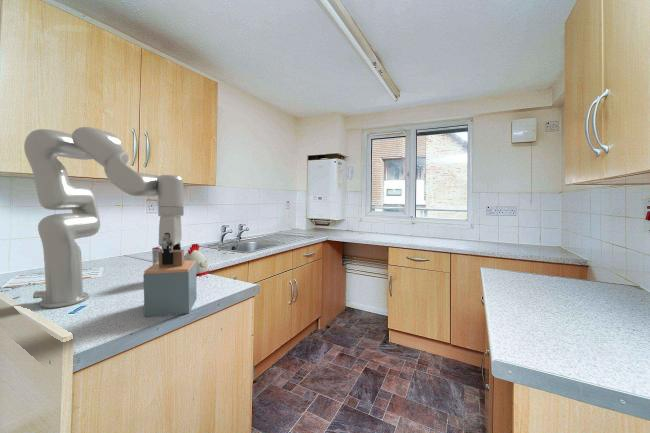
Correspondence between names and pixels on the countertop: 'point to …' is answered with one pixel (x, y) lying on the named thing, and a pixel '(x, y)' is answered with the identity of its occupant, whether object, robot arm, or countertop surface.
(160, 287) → the box
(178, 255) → the lid
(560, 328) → the countertop surface
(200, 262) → the kitchen timer
